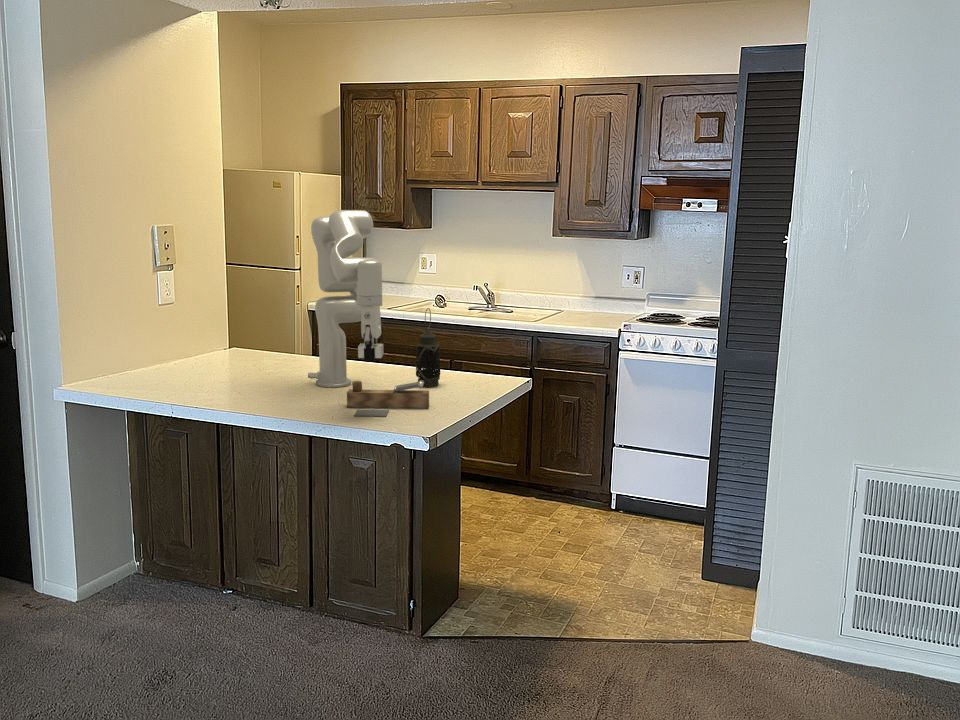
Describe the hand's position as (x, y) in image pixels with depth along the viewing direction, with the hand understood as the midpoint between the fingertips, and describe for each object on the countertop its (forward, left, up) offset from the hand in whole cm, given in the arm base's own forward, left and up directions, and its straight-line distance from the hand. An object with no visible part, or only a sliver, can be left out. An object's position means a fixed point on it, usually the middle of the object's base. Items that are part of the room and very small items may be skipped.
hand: (370, 358), depth 262 cm
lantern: (+14, +41, -18) cm, 47 cm away
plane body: (+4, +9, -17) cm, 20 cm away
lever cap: (0, 0, +1) cm, 1 cm away
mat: (0, 0, -17) cm, 17 cm away
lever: (+6, +9, -11) cm, 16 cm away
